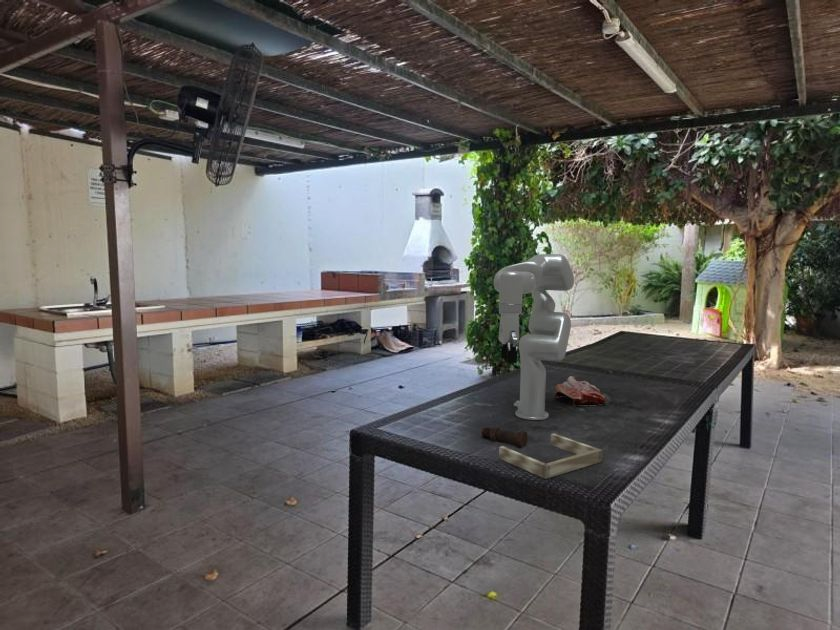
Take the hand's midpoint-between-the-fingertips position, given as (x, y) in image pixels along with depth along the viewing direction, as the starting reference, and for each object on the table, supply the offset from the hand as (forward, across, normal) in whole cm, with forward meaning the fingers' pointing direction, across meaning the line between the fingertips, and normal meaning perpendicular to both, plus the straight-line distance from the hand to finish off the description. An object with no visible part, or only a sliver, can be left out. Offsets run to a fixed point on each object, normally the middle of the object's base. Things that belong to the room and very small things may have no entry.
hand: (508, 360), depth 178 cm
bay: (+26, +21, +8) cm, 35 cm away
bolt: (+27, +4, -2) cm, 27 cm away
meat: (+26, -48, +42) cm, 69 cm away
